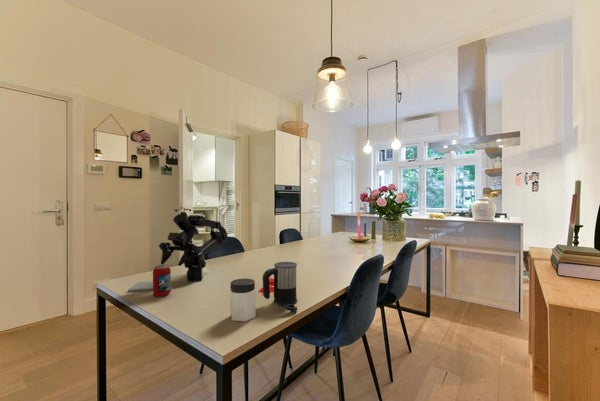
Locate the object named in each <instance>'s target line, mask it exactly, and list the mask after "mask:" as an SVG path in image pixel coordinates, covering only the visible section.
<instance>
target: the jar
mask: <svg viewBox="0 0 600 401" xmlns="http://www.w3.org/2000/svg"><path fill="white" fill-rule="evenodd" d="M255 283H256V282H255V280H254V279H252V278H237V279H233V280H232V281H231V282H230V317H231V321H233V322H247V321H250V320H252V319H254V318H256V289H255V285H256V284H255Z"/></svg>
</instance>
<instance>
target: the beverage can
mask: <svg viewBox="0 0 600 401" xmlns="http://www.w3.org/2000/svg"><path fill="white" fill-rule="evenodd" d="M171 271H172V270H171V268H170V265H169V264H163V265H162V264H160V265H156V266H154V268H153V270H152V281H153V291H152V294H153V296H155V297H158V298H159V297H166V296H168V295H169V294H171V293H172V283H171V282H172V281H171V280H172V279H171V278H172V276H171V273H172V272H171Z"/></svg>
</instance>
